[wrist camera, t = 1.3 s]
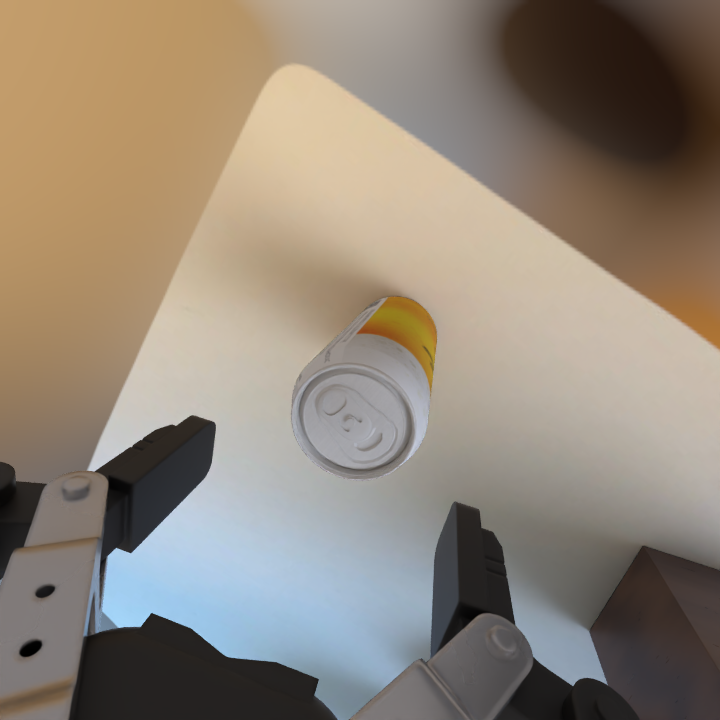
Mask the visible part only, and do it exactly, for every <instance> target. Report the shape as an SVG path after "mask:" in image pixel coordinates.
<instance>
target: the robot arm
mask: <svg viewBox="0 0 720 720" xmlns="http://www.w3.org/2000/svg"><path fill="white" fill-rule="evenodd" d="M215 431H216V425H215V423H214V422H212V421H209V420H206V419H203V418H200V417H197V416H194V415H192V416H190V417H188V418H187V419H185V420H184V421H183V422H181V423H180V424H178V425H177V426H175V425H169V426H166V427H163V428H160V429H157V430H155V431H153V432H152V433H150V434H149V435H147V436H146V437H144V438H143V440H140V441H138V442H137V443H135V444H134V445H133V446H132V448H131V447H130V448H128V449H127V450H125V451H124V452H122V453H121V454H119V455H118V456H116V457H115V458H114V459H112V460H111V461H109V462H108V463H106V464H105V465H103V466H102V467H100V468H99V469H97V470H96V471H95V472H93V471H76V472H71V473H67V474H64V475H61V476H59V477H57V478H55V479H53V480H52V481H50V482H49V483H48V484H42V483H29V482H17V481H16V478H15V470H14V468H13V467H12V466H10V465H9V464H6V463H3V462H0V580H1V579H2V578H3V579H2V582H1V585H0V720H337V718H336V717H335V716H334V714H333V713H332V712H331V711H330V710H329V708H328V707H327V706H326V705H325V704H324V703H323V702H322V701H320V700H319V699H318V698H317V697H315V696H314V694H315V691H316V687H317V684H318V680H319V679H317V678H314V677H312V676H309V675H307V674H304V673H302V672H299V671H297V670H294V669H292V668H289V667H287V666H284V665H282V664H279V663H277V662H268V661H257V660H247V659H236V658H229V657H226V656H224V655H223V654H222V653H220V652H219V651H218V650H217V649H215V648H214V647H213V646H212V645H211V644H209V643H208V642H207V641H206V640H204V639H203V638H202V637H201V636H200V635H198V634H197V633H196V632H195V631H193V630H192V629H191V628H188V627H186V626H183V625H181V624H178V623H176V622H173V621H171V620H168V619H166V618H163V617H160V616H158V615H155V614H153V613H151V614H150V616H149V617H148V618H147V620H146V621H145V622H144V623H143V625H142V626H141V627H123V628H116V629H110V630H106V631H102V632H100V622H101V613H102V605H103V597H104V588H105V580H106V571H107V560H108V555H109V554H110V553H111V552H112V551H113V550H114V549H115V548H118V549H121V550H124V551H126V552H129V553H132V552H133V551H134V550H135V549H136V548H137V547H138V546H139V545H140V544H141V543H142V542H143V541H144V540H145V539H146V538H147V537H148V535H149V534H150V533H151V532H152V531H153V530H154V529H155V528H156V527H157V526H158V525H159V524H160V523H161V522H162V521H163V520H164V519H165V518H166V517H167V516H168V515H169V514H170V513H171V512H172V511H173V510H174V509H175V508H176V507H177V506H178V505H179V504H180V503H181V502H182V501H183V500H184V499H185V498H186V497H187V496H188V495H189V494H190V493H191V492H192V491H193V490H194V489H195V488H196V486H197V485H198V484H199V483H200V482H201V481H202V480H203V479H204V478H205V477H206V475H207V473H208V471H209V469H210V466H211V463H212V456H213V448H214V440H215ZM506 575H507V574H506V568H505V565H504V556H503V550H502V546H501V545H500V543H499V541H498V540H497V538H496V536H495V535H494V533H493V532H492V531H489V530H486V529H483V528H481V520H480V511H479V509H476V508H473V507H470V506H467V505H464V504H461V503H458V502H454V503H453V504H452V506H451V509H450V512H449V514H448V517H447V519H446V522H445V525H444V527H443V530H442V532H441V535H440V538H439V540H438V544H437V548H436V552H435V559H434V581H433V606H432V630H431V655H430V660H429V661H427V662H425V661H424V660H423V659H422V658H421V659H418V660H416V661H415V662H413V663H412V664H411V665H410V666H409V667H408V668H407V669H405V670H404V671H403V672H402V673H401V674H400V675H399V676H397V677H396V678H395V679H394V680H393V681H392V682H391V683H390V684H388V685H387V686H386V687H385V688H384V689H383V690H382V691H381V692H379V693H378V694H377V695H376V696H375V697H374V698H373V699H372V700H370V701H369V702H368V703H367V704H366V705H365V706H364V707H362V708H361V709H360V710H359V711H358V712H357V713H356V714H355V715H353V716H352V717H351V718H350V719H349V720H640V719H639V717H638V716H637V714H636V713H635V711H634V710H633V708H632V707H631V706H630V705H629V704H628V702H627V701H626V700H625V699H624V698H623V697H622V696H621V695H620V694H618V693H617V692H616V691H615V690H613V689H612V688H611V687H609V686H608V685H606V684H604V683H602V682H600V681H598V680H595V679H591V678H583V679H580V680H578V681H577V682H576V683H575V685H574V686H572V685H570V684H569V683H567V682H566V681H564V680H563V679H561V678H560V677H559V676H557V675H556V674H554V673H553V672H551V671H550V670H548V669H547V668H545V667H544V666H543V665H541V664H540V663H539V662H538V661H537V660H536V659H535V658H534V657H533V654H532V650H531V647H530V645H529V643H528V641H527V639H526V638H525V636H524V635H523V634H522V632H521V631H520V630H519V629H518V628H517V627H516V626H515V620H514V615H513V609H512V603H511V597H510V591H509V585H508V579H507V578H506Z"/></svg>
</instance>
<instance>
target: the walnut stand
mask: <svg viewBox="0 0 720 720" xmlns="http://www.w3.org/2000/svg"><path fill="white" fill-rule="evenodd" d="M590 635H591V638H592V641H593V643H594V646H595V649H596V652H597V655H598V658H599V661H600V664H601V667H602V669H603V672H604V675H605V678H606V681H607V684H608V686H609V687H611V688H612V689H613V690H615V691H616V692H617V693H618V694H620V695H621V696H622V697H623V698H624V699H625V700H626V701H627V702H628V704H629V705H630V706H631V707H632V708H633V710H634V711H635V713H636V714H637V716H638V717H639V719H640V720H720V571H719V570H716V569H713V568H710V567H707V566H703V565H700V564H697V563H694V562H691V561H688V560H685V559H682V558H679V557H676V556H673V555H670V554H666V553H663V552H660V551H657V550H654V549H651V548H648V547H645V546H643V547H642V549H641V550H640V552H639V553H638V555H637V557H636V558H635V560H634V561H633V563H632V565H631V566H630V568H629V569H628V571H627V573H626V574H625V576H624V577H623V579H622V580H621V582H620V584H619V585H618V587H617V588H616V590H615V592H614V593H613V595H612V596H611V598H610V600H609V601H608V603H607V604H606V606H605V607H604V609H603V611H602V612H601V614H600V615H599V617H598V619H597V620H596V622H595V623H594V625H593V627H592V628H591V630H590Z"/></svg>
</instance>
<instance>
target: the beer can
mask: <svg viewBox="0 0 720 720" xmlns="http://www.w3.org/2000/svg"><path fill="white" fill-rule="evenodd" d="M436 344H437V332H436V327H435V324H434V321H433V319H432V317H431V316H430V314H429V313H428V312H427V311H426V310H425V309H424V308H423V307H422V306H421V305H420V304H418V303H417V302H415V301H413V300H410V299H408V298H404V297H394V296H393V297H386V298H382V299H379V300H377V301H375V302H373V303H372V304H370V305H369V306H368V307H367V308H366V309H365V310H364V311H363V312H362V313H361V314H360V315H359V316H357V317H356V318H355V319H354V320H353V321H352V322H351V323H350V324H349V325H348V326H347V327H346V328H345V329H344V330H343V331H342V332H341V333H340V334H339V335H338V336H337V337H336V338H335V339H334V340H333V341H332V342H331V343H330V344H328V345H327V346H326V347H325V348H324V349H323V350H322V351H321V352H320V353H319V354H318V355H317V356H316V357H315V358H314V359H313V360H312V361H311V362H310V363H309V364H308V365H307V366H306V367H305V368H304V369H303V371H302V372H301V374H300V375H299V377H298V379H297V381H296V384H295V386H294V390H293V395H292V411H291V421H292V428H293V432H294V435H295V437H296V440H297V442H298V444H299V446H300V447H301V449H302V450H303V452H304V453H305V454H306V455H307V457H308V458H309V459H310V460H311V461H312V462H314V463H315V464H316V465H317V466H319V467H320V468H321V469H323V470H325V471H326V472H328V473H330V474H332V475H335V476H338V477H341V478H344V479H349V480H360V481H363V480H372V479H377V478H380V477H383V476H385V475H388V474H390V473H391V472H393V471H394V470H396V469H397V468H398V467H400V466H401V465H402V464H403V463H404V462H405V461H407V460H408V459H409V458H410V457H411V456H412V455H413V454H414V453H415V452H416V451H417V449H418V448H419V446H420V445H421V443H422V441H423V439H424V436H425V433H426V429H427V424H428V415H429V406H430V397H431V388H432V379H433V370H434V361H435V353H436Z"/></svg>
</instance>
